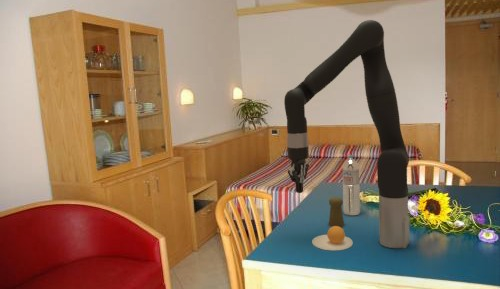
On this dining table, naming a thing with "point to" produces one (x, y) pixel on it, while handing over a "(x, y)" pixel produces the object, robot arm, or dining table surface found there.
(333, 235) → the ball
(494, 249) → the dining table surface
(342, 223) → the brown rounded upright piece
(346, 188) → the water bottle
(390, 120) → the robot arm
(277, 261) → the dining table surface
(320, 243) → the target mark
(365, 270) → the dining table surface
